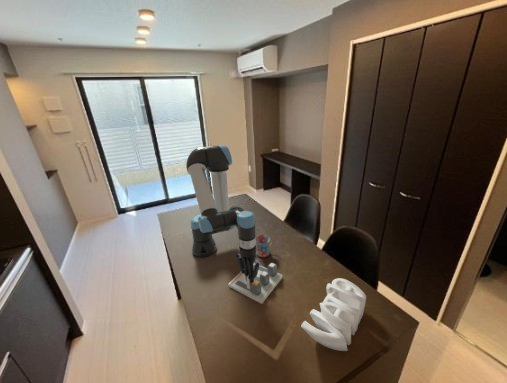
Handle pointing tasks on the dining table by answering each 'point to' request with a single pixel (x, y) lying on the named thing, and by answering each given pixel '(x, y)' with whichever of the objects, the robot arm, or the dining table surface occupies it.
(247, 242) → the robot arm
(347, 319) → the wavy white extrusion
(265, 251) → the mug
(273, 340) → the dining table surface
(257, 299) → the panel
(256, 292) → the block
